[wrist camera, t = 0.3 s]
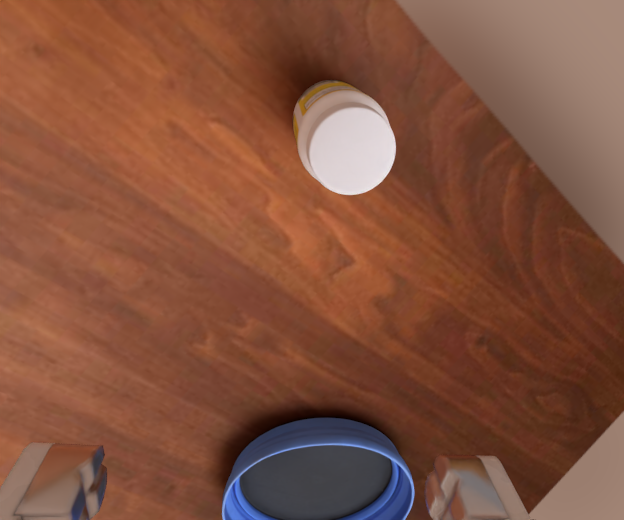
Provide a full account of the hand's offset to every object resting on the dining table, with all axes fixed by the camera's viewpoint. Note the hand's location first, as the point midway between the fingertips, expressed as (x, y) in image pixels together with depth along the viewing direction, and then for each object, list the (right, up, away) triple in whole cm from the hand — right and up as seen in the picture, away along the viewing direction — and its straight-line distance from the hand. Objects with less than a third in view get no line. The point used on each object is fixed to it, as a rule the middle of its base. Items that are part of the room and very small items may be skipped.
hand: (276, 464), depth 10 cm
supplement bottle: (+2, +14, +16) cm, 21 cm away
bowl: (+1, -16, +32) cm, 36 cm away
